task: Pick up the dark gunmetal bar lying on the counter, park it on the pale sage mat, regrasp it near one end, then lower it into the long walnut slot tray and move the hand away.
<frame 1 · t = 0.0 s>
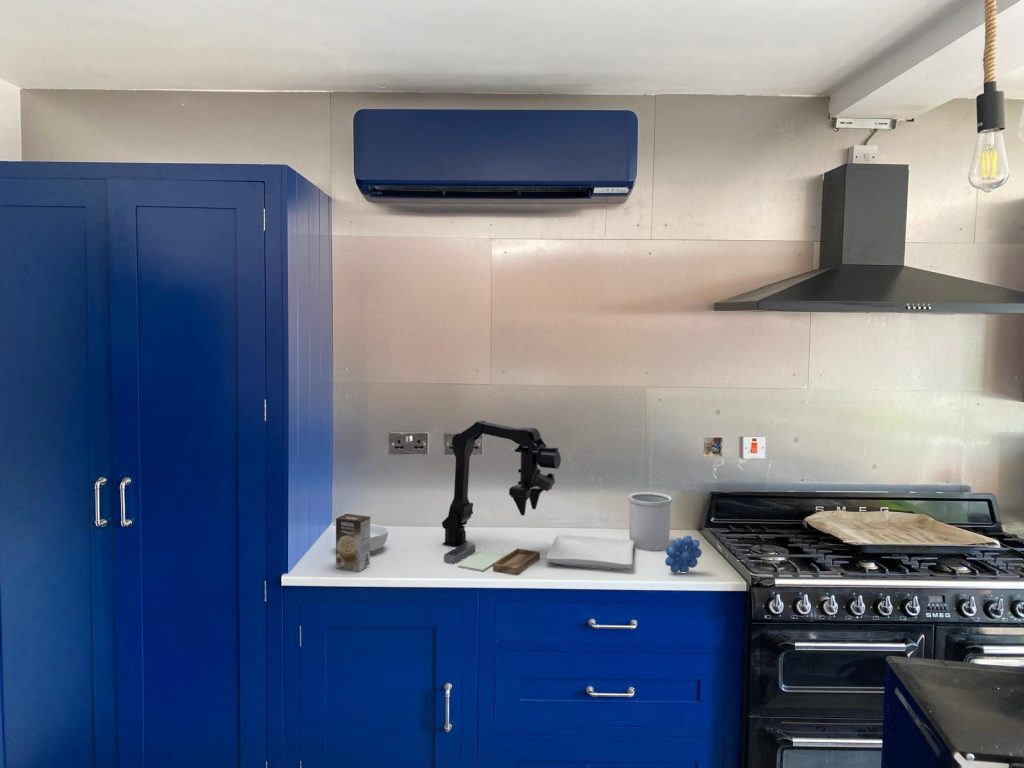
hand: (528, 512, 222), 15 cm above the table, tool pointing down, fingers open, 9 cm apart
sage mat: (483, 561, 216), on the table
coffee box: (352, 567, 209), on the table
utensil holder: (649, 546, 235), on the table
gunmetal bar: (459, 558, 220), on the table
walnut slot tray: (517, 564, 213), on the table
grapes: (681, 573, 208), on the table
cereal bowl: (362, 551, 226), on the table
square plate: (591, 559, 221), on the table
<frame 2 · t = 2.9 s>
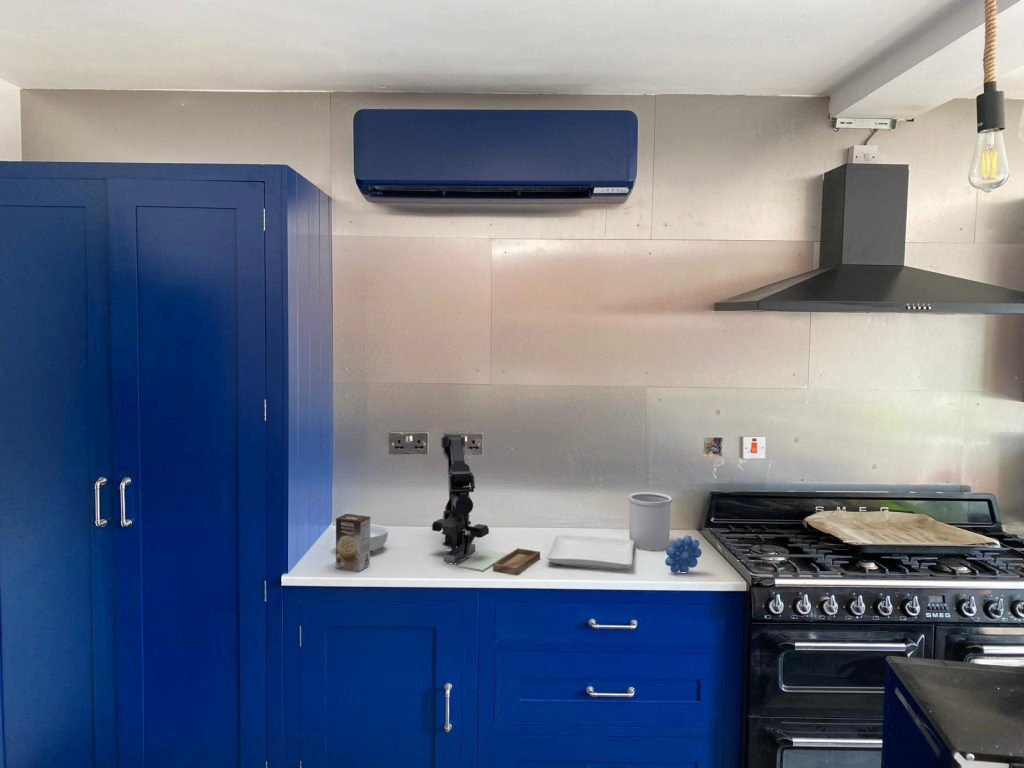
hand: (460, 553, 220), 1 cm above the table, tool pointing down, fingers closed on gunmetal bar, 4 cm apart
gunmetal bar: (459, 558, 220), on the table, touching gripper
everything else where it was.
when the fingers open (3 cm above the table, at t = 6.5 s): gunmetal bar drops 1 cm, resting on sage mat.
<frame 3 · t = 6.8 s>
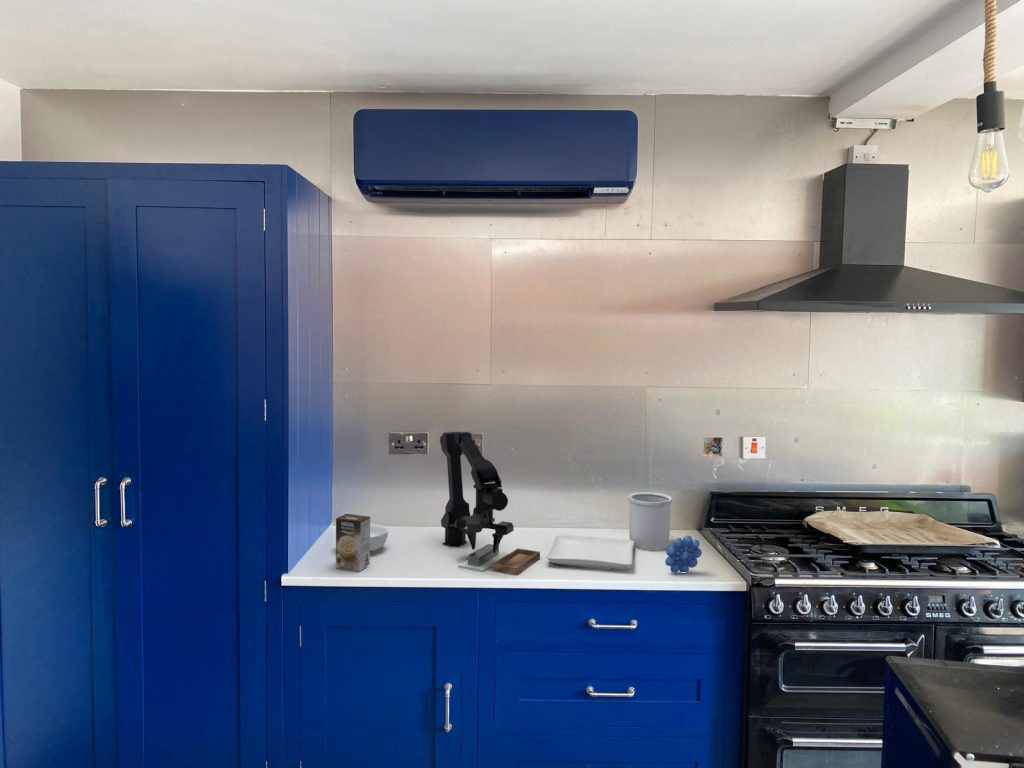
hand: (484, 551, 216), 3 cm above the table, tool pointing down, fingers open, 7 cm apart
gunmetal bar: (483, 559, 216), point 1 cm above the table, touching sage mat
everything else where it was.
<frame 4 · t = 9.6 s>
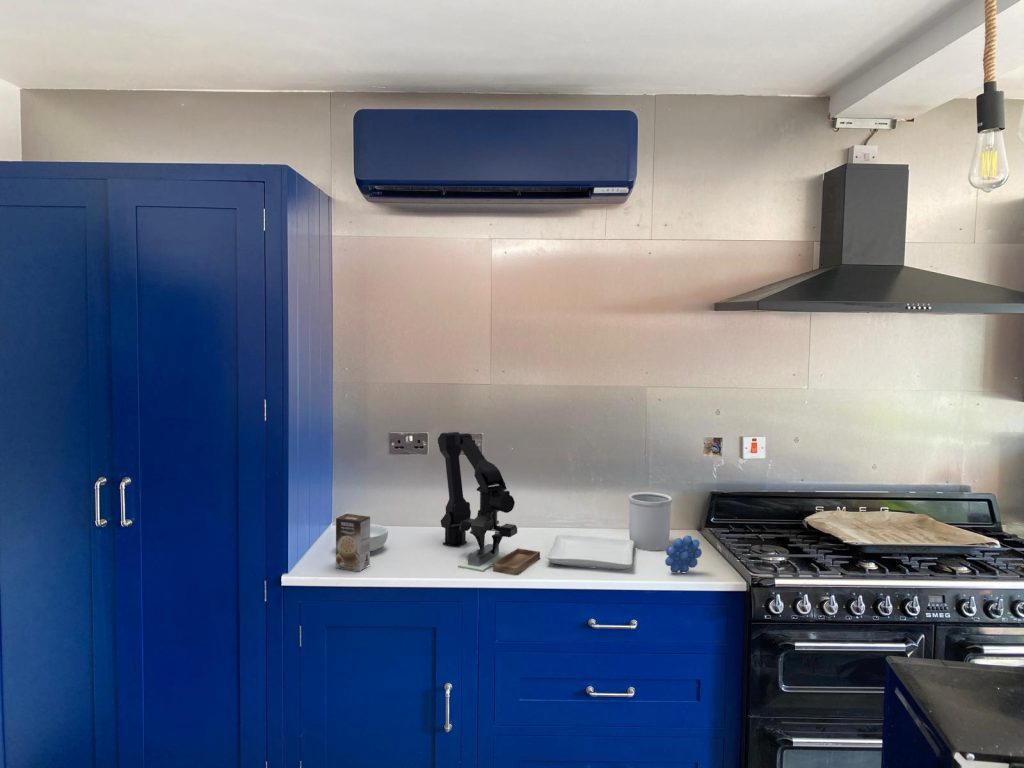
hand: (488, 553, 219), 2 cm above the table, tool pointing down, fingers closed on gunmetal bar, 4 cm apart
gunmetal bar: (483, 559, 216), point 1 cm above the table, touching gripper, sage mat
everything else where it was.
when the fingers open (3 cm above the table, at t = 13.6 s): gunmetal bar drops 1 cm, resting on walnut slot tray.
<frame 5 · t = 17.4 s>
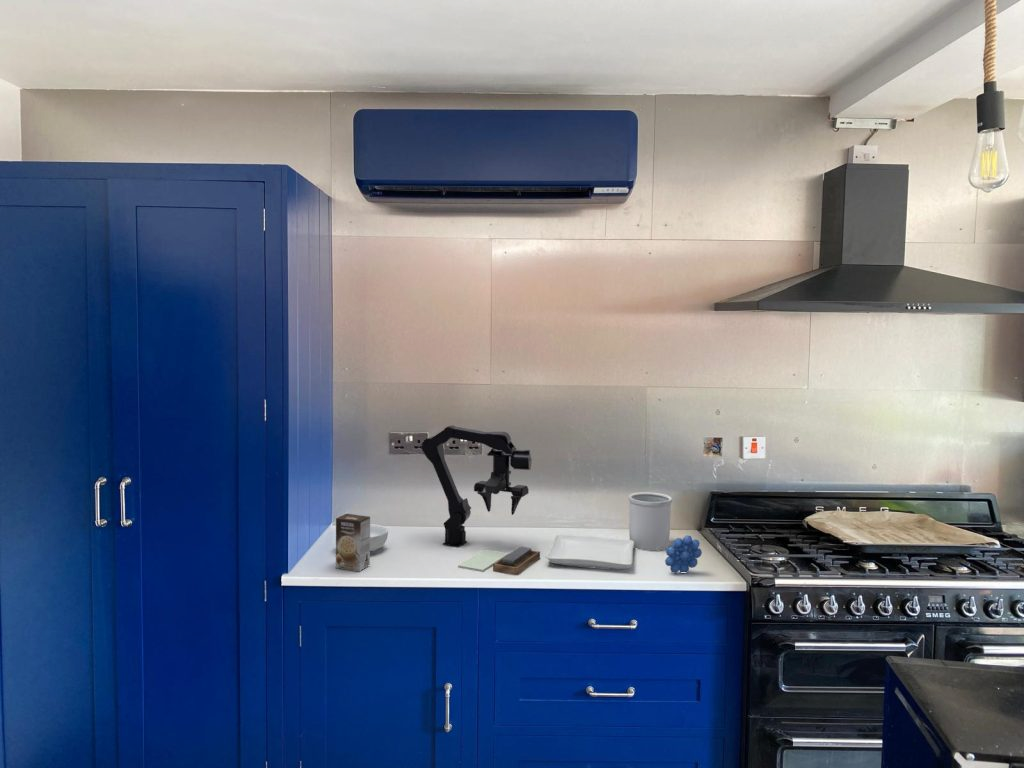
hand: (500, 513, 231), 12 cm above the table, tool pointing down, fingers open, 9 cm apart
gunmetal bar: (517, 562, 213), point 1 cm above the table, touching walnut slot tray
everything else where it was.
at the end: gunmetal bar 0.0 cm off-centre on the walnut slot tray, point 0.6 cm above the walnut slot tray's base; gunmetal bar tilted 0°; the gripper is holding nothing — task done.
